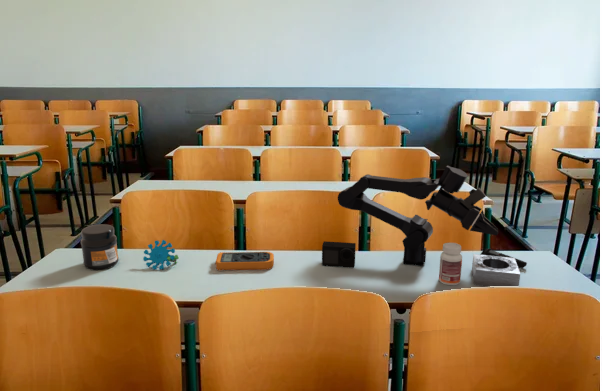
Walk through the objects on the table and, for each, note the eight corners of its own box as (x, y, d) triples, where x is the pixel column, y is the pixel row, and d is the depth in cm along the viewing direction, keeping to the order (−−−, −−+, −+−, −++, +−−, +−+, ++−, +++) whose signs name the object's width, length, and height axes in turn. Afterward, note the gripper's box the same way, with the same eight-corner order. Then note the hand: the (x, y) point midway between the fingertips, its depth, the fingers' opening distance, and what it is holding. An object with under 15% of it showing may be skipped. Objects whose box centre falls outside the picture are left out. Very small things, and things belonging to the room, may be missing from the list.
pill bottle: (464, 284, 150) (467, 248, 147) (444, 286, 149) (447, 250, 146) (453, 276, 156) (456, 241, 153) (434, 277, 155) (437, 242, 152)
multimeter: (273, 271, 160) (273, 260, 159) (215, 272, 159) (215, 261, 158) (273, 260, 168) (273, 250, 167) (218, 261, 167) (218, 251, 166)
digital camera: (321, 267, 162) (321, 247, 160) (322, 261, 167) (323, 240, 165) (354, 269, 160) (354, 249, 158) (355, 263, 166) (355, 242, 164)
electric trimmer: (521, 272, 160) (522, 263, 159) (479, 256, 172) (480, 247, 171) (528, 270, 162) (529, 260, 161) (486, 254, 174) (487, 245, 173)
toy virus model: (137, 265, 159) (149, 236, 164) (143, 271, 165) (154, 243, 169) (171, 272, 158) (181, 242, 163) (175, 278, 163) (186, 250, 168)
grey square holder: (474, 285, 150) (475, 269, 148) (471, 268, 161) (473, 254, 160) (518, 290, 147) (520, 274, 146) (512, 273, 158) (514, 258, 157)
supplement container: (119, 268, 161) (115, 232, 157) (82, 273, 157) (78, 236, 154) (118, 256, 170) (115, 222, 167) (84, 260, 167) (80, 225, 164)
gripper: (462, 182, 146) (513, 211, 141) (466, 181, 163) (512, 207, 159) (442, 215, 148) (491, 244, 143) (448, 211, 165) (492, 237, 161)
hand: (497, 232), depth 152 cm, fingers open, 9 cm apart
